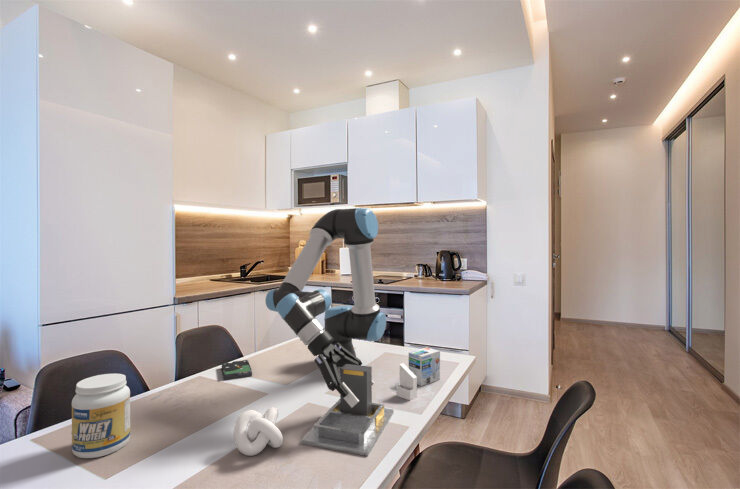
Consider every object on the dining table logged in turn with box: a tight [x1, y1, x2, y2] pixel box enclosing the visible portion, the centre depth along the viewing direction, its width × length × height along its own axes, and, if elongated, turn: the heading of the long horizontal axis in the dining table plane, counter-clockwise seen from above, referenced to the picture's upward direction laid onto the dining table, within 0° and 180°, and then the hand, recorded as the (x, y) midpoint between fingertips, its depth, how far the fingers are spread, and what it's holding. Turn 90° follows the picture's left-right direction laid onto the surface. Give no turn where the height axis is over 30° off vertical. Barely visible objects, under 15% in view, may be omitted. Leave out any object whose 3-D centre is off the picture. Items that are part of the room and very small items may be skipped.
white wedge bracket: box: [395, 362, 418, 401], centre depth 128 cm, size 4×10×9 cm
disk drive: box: [221, 359, 253, 381], centre depth 151 cm, size 10×3×15 cm
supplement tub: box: [71, 372, 131, 459], centre depth 97 cm, size 12×12×17 cm
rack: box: [300, 398, 395, 457], centre depth 107 cm, size 24×18×4 cm
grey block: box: [339, 364, 373, 416], centre depth 111 cm, size 4×8×14 cm, turn 72°
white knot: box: [233, 406, 284, 457], centre depth 97 cm, size 11×12×9 cm
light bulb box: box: [408, 346, 441, 387], centre depth 141 cm, size 11×7×11 cm, turn 131°
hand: (364, 394), depth 110 cm, fingers open, 13 cm apart
